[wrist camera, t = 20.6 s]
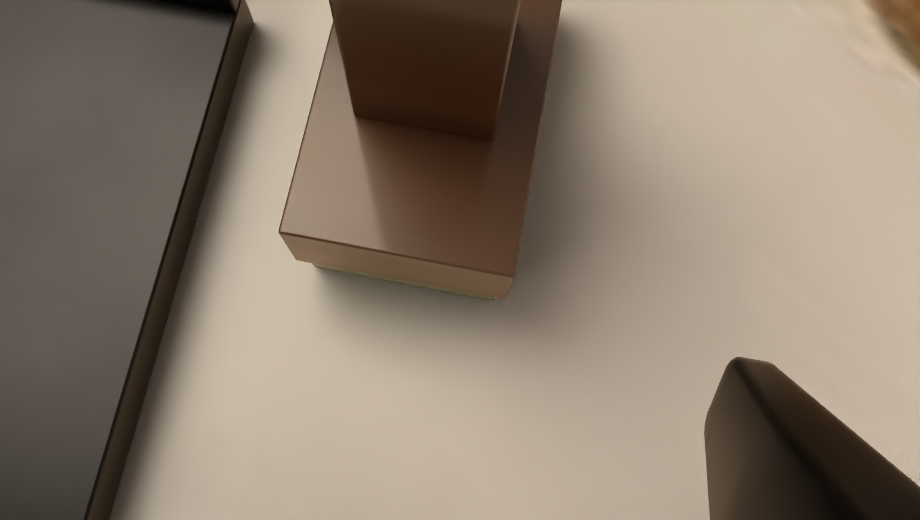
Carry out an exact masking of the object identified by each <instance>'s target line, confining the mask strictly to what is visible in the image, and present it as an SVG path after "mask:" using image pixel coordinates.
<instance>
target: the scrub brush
mask: <svg viewBox="0 0 920 520" xmlns="http://www.w3.org/2000/svg"><path fill="white" fill-rule="evenodd" d="M329 3H330V7H331V12H332V17H333V24H332V28H331V31H330V35H329V39H328V43H327V47H326V51H325V55H324V58H323V62H322V66H321V70H320V74H319V78H318V81H317V85H316V89H315V93H314V97H313V101H312V104H311V108H310V112H309V116H308V120H307V124H306V127H305V131H304V135H303V139H302V143H301V147H300V151H299V154H298V158H297V162H296V166H295V170H294V174H293V177H292V181H291V185H290V189H289V193H288V197H287V200H286V204H285V208H284V212H283V216H282V220H281V223H280V227H279V234H280V236H281V237H282V239H283V240H284V242H285V243H286V245H287V246H288V248H289V250H290V251H291V253H292V254H293V256H294V257H295V259H296V260H299V261H304V262H309V263H313V265H314V266H316V267H320V268H326V269H331V270H336V271H341V272H347V273H352V274H357V275H362V276H368V277H373V278H378V279H383V280H389V281H394V282H399V283H404V284H410V285H415V286H420V287H425V288H430V289H436V290H441V291H446V292H451V293H457V294H462V295H467V296H472V297H478V298H483V299H488V300H493V299H494V298H498V299H504V298H505V296H506V294H507V292H508V289H509V287H510V285H511V283H512V280H513V278H514V275H515V269H516V264H517V258H518V252H519V246H520V241H521V235H522V229H523V223H524V218H525V212H526V206H527V200H528V195H529V189H530V183H531V177H532V172H533V166H534V160H535V154H536V149H537V143H538V137H539V131H540V126H541V120H542V114H543V108H544V102H545V97H546V91H547V85H548V79H549V74H550V68H551V62H552V56H553V51H554V45H555V39H556V33H557V28H558V22H559V16H560V10H561V5H562V0H329Z"/></svg>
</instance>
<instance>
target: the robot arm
mask: <svg viewBox="0 0 920 520" xmlns="http://www.w3.org/2000/svg"><path fill="white" fill-rule="evenodd" d="M704 436H705V451H706V466H707V481H708V496H709V511H710V520H920V487H919V486H918V485H917V484H916V483H914V482H913V481H912V480H911V479H910V478H908V477H907V476H906V475H905V474H904V473H902V472H901V471H900V470H899V469H898V468H896V467H895V466H894V465H893V464H892V463H890V462H889V461H888V460H887V459H886V458H884V457H883V456H882V455H881V454H880V453H878V452H877V451H876V450H875V449H874V448H873V447H871V446H870V445H869V444H868V443H867V442H865V441H864V440H863V439H862V438H861V437H859V436H858V435H857V434H856V433H855V432H853V431H852V430H851V429H850V428H849V427H847V426H846V425H845V424H844V423H843V422H841V421H840V420H839V419H838V418H837V417H835V416H834V415H833V414H832V413H831V412H829V411H828V410H827V409H826V408H825V407H824V406H822V405H821V404H820V403H819V402H818V401H816V400H815V399H814V398H813V397H812V396H810V395H809V394H808V393H807V392H806V391H804V390H803V389H802V388H801V387H800V386H798V385H797V384H796V383H795V382H794V381H792V380H791V379H790V378H789V377H788V376H786V375H785V374H784V373H783V372H782V371H781V370H779V369H778V368H777V367H776V366H775V365H773V364H771V363H769V362H765V361H760V360H754V359H749V358H743V357H736V358H734V359H732V360H731V361H730V362H729V364H728V365H727V367H726V369H725V371H724V374H723V376H722V378H721V381H720V383H719V386H718V388H717V391H716V393H715V396H714V398H713V401H712V403H711V406H710V408H709V410H708V413H707V417H706V421H705V431H704Z"/></svg>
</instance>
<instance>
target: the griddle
mask: <svg viewBox="0 0 920 520" xmlns="http://www.w3.org/2000/svg"><path fill="white" fill-rule="evenodd" d="M252 24H253V18H252V16H251V13H250V11H249V8H248V6H247V3H246V1H245V0H0V520H109V518H110V515H111V511H112V508H113V504H114V501H115V497H116V494H117V490H118V487H119V484H120V480H121V477H122V473H123V470H124V466H125V463H126V459H127V456H128V452H129V449H130V446H131V442H132V439H133V435H134V432H135V428H136V425H137V421H138V418H139V414H140V411H141V407H142V404H143V401H144V397H145V394H146V390H147V387H148V383H149V380H150V376H151V373H152V369H153V366H154V363H155V359H156V356H157V352H158V349H159V345H160V342H161V338H162V335H163V331H164V328H165V325H166V321H167V318H168V314H169V311H170V307H171V304H172V300H173V297H174V293H175V290H176V287H177V283H178V280H179V276H180V273H181V269H182V266H183V262H184V259H185V255H186V252H187V249H188V245H189V242H190V238H191V235H192V231H193V228H194V224H195V221H196V217H197V214H198V211H199V207H200V204H201V200H202V197H203V193H204V190H205V186H206V183H207V179H208V176H209V173H210V169H211V166H212V162H213V159H214V155H215V152H216V148H217V145H218V141H219V138H220V135H221V131H222V128H223V124H224V121H225V117H226V114H227V110H228V107H229V103H230V100H231V97H232V93H233V90H234V86H235V83H236V79H237V76H238V72H239V69H240V65H241V62H242V58H243V55H244V52H245V48H246V45H247V41H248V38H249V34H250V31H251V27H252Z"/></svg>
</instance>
